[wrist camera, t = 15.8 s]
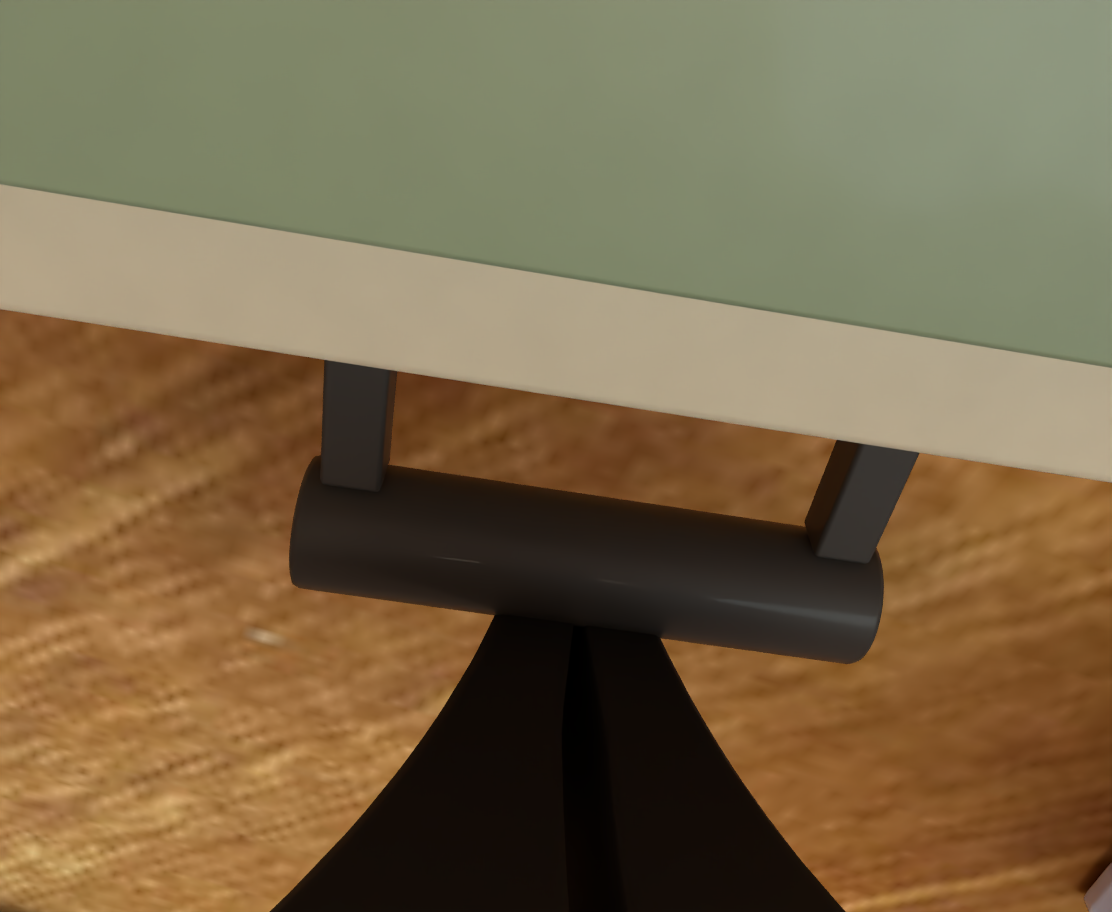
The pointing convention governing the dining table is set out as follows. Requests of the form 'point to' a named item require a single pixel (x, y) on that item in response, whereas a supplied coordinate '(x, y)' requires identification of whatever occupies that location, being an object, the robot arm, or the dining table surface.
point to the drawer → (573, 372)
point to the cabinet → (617, 143)
